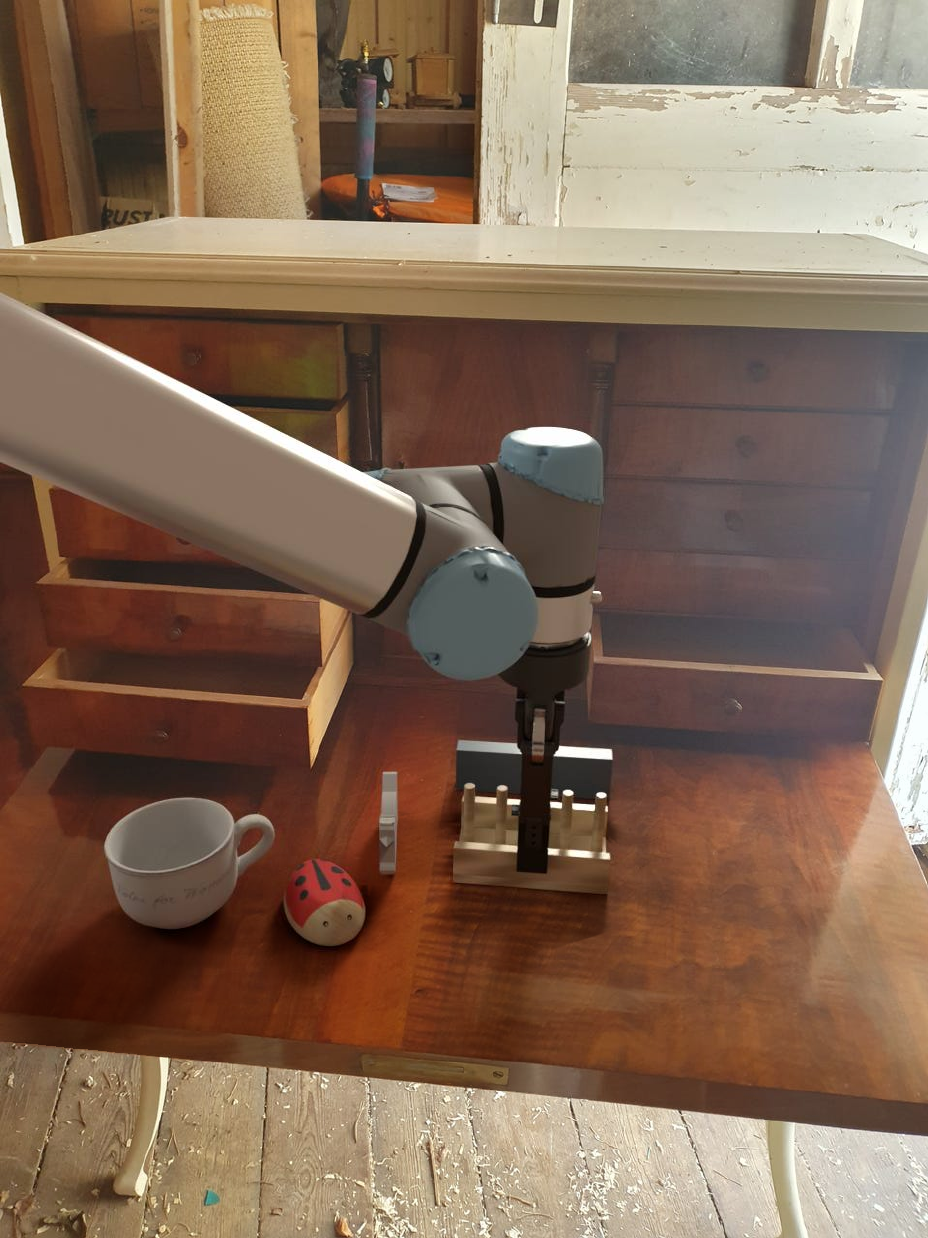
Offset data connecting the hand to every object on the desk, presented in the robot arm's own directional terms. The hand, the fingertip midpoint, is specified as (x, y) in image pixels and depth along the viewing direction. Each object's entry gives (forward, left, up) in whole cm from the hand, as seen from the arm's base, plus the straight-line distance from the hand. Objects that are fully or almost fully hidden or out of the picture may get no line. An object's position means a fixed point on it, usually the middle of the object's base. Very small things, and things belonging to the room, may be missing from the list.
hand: (531, 867), depth 86 cm
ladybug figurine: (-18, +5, -3) cm, 19 cm away
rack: (+2, +4, -3) cm, 6 cm away
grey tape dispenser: (-10, +11, -3) cm, 15 cm away
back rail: (+7, +14, -3) cm, 16 cm away
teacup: (-28, +10, -3) cm, 30 cm away
